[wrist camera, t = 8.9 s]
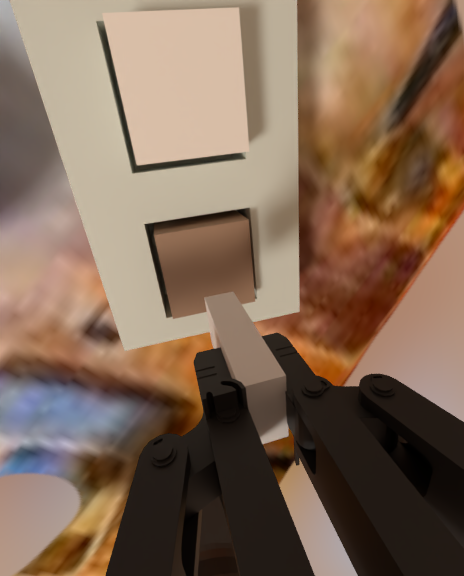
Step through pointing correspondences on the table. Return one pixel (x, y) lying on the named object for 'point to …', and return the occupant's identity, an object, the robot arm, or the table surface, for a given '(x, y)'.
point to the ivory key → (180, 82)
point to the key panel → (174, 174)
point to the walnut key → (205, 259)
